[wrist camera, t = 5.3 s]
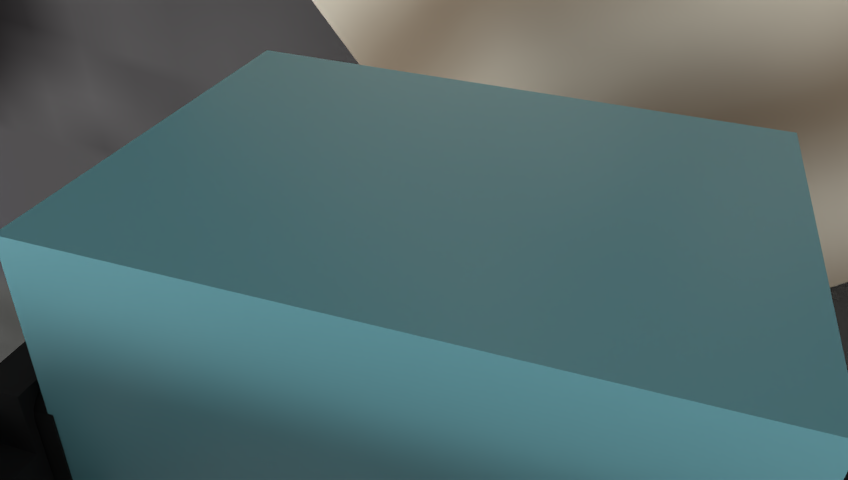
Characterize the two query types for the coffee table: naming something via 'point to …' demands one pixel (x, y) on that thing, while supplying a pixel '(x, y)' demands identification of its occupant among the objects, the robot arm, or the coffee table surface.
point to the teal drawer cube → (432, 290)
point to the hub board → (643, 65)
